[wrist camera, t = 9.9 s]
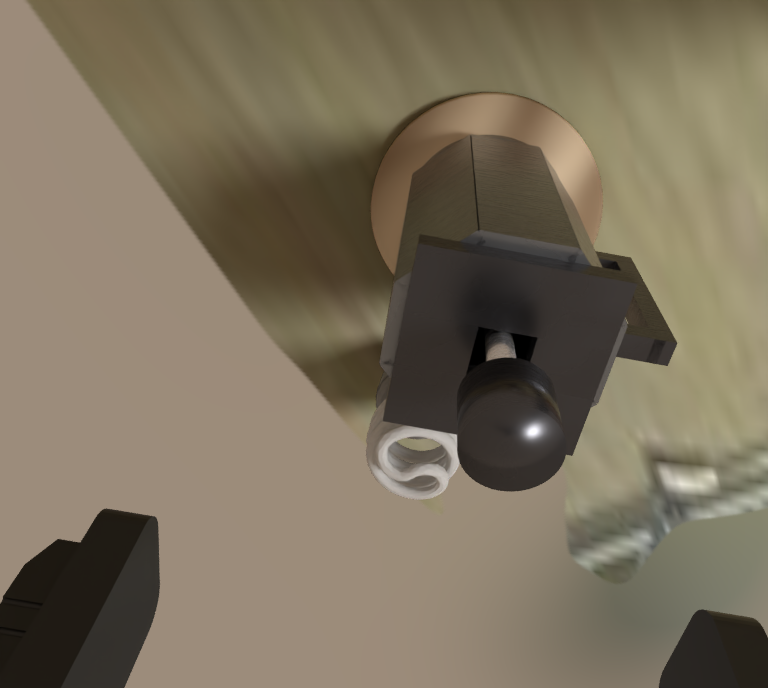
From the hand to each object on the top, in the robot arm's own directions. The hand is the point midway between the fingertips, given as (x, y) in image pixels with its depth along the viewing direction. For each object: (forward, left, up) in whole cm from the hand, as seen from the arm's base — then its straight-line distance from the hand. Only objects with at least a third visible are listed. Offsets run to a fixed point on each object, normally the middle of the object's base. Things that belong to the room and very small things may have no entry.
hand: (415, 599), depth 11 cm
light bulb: (-2, +18, -36) cm, 40 cm away
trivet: (-4, +6, -36) cm, 36 cm away
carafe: (-5, +6, -35) cm, 36 cm away
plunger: (-4, +6, -32) cm, 33 cm away
